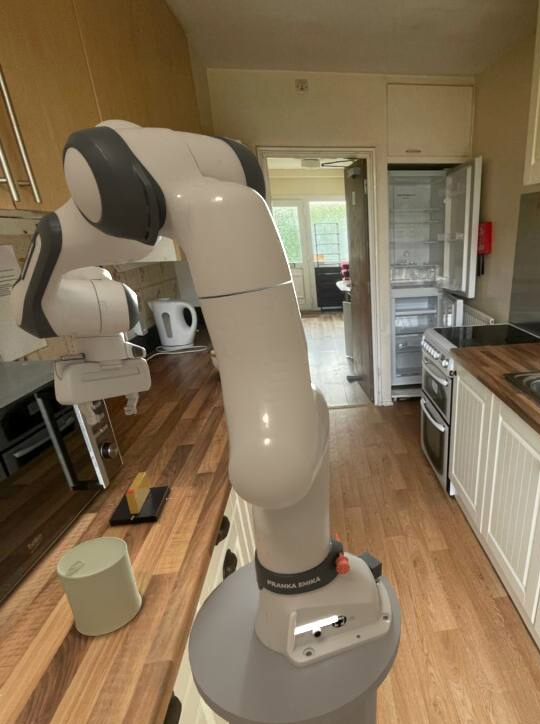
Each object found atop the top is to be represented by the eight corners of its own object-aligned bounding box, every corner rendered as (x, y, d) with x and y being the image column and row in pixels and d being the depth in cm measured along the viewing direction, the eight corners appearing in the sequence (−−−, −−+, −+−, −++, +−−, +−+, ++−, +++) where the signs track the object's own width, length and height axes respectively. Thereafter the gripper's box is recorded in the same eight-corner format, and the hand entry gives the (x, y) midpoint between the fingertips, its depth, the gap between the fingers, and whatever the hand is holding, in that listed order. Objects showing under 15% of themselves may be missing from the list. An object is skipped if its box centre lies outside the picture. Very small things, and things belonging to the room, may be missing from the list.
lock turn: (142, 491, 99) (138, 471, 97) (150, 490, 99) (145, 470, 97) (130, 514, 91) (125, 493, 89) (138, 513, 91) (133, 492, 89)
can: (61, 628, 66) (38, 568, 62) (110, 585, 75) (94, 529, 70) (108, 643, 64) (89, 581, 60) (154, 597, 72) (140, 540, 68)
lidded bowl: (207, 371, 190) (203, 346, 185) (232, 365, 199) (230, 342, 194) (222, 377, 182) (219, 352, 178) (248, 371, 191) (245, 346, 187)
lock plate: (119, 494, 100) (117, 488, 99) (179, 488, 103) (178, 482, 102) (98, 529, 88) (96, 523, 88) (167, 522, 91) (165, 515, 90)
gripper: (66, 354, 75) (81, 430, 78) (151, 348, 95) (161, 409, 98) (37, 356, 77) (53, 430, 79) (127, 350, 96) (137, 410, 99)
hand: (113, 419), depth 89 cm, fingers open, 8 cm apart
